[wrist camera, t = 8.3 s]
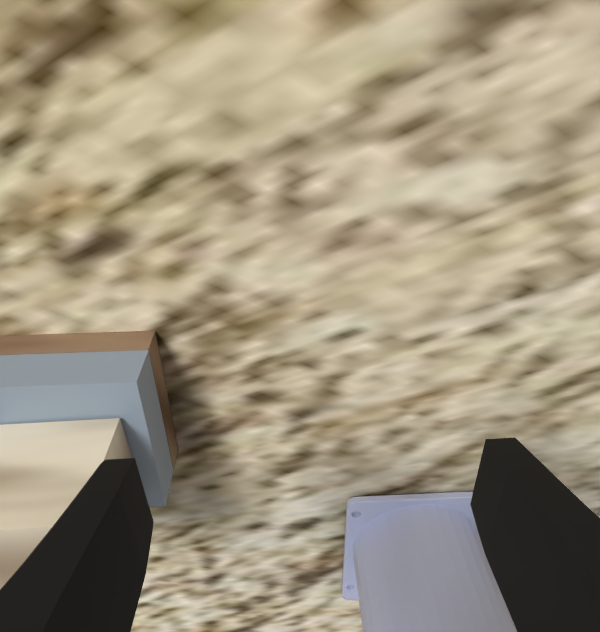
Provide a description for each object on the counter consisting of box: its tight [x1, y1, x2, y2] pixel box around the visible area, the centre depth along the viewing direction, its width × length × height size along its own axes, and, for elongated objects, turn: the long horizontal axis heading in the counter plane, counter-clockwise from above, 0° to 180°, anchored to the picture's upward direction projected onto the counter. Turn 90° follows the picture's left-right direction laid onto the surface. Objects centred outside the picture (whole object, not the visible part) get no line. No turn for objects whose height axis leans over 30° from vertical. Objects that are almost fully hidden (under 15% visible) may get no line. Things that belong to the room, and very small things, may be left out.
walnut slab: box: [0, 331, 178, 470], centre depth 22 cm, size 7×7×2 cm
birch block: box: [0, 418, 133, 589], centre depth 18 cm, size 4×4×4 cm
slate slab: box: [0, 350, 174, 507], centre depth 20 cm, size 7×7×2 cm
